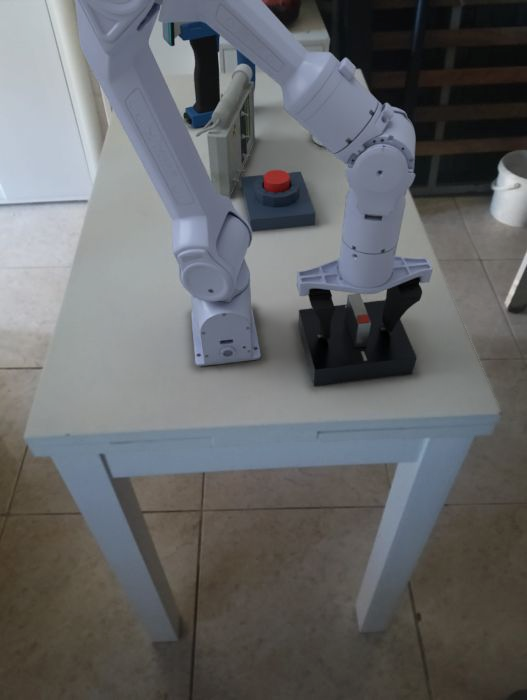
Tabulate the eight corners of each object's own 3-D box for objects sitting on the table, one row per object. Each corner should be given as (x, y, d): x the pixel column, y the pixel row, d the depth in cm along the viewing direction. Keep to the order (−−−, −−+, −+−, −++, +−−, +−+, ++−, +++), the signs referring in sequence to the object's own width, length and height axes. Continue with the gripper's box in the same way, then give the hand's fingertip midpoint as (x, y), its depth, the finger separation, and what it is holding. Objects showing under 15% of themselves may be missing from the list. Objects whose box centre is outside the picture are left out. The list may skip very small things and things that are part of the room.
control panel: (388, 315, 75) (392, 298, 72) (412, 374, 68) (417, 356, 66) (298, 326, 74) (298, 308, 71) (313, 386, 67) (314, 369, 65)
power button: (291, 192, 88) (291, 182, 86) (265, 195, 87) (265, 184, 86) (287, 178, 90) (287, 168, 89) (262, 180, 90) (262, 170, 89)
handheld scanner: (173, 121, 111) (158, 10, 96) (248, 104, 116) (245, -5, 101) (180, 131, 109) (167, 19, 94) (257, 114, 113) (256, 3, 98)
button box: (314, 225, 88) (316, 203, 85) (250, 231, 87) (249, 209, 84) (300, 183, 96) (301, 161, 93) (241, 188, 95) (240, 167, 92)
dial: (344, 318, 70) (347, 292, 67) (356, 317, 70) (360, 291, 67) (354, 348, 67) (358, 322, 64) (367, 346, 67) (371, 321, 64)
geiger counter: (231, 117, 82) (265, 50, 99) (189, 113, 83) (230, 47, 100) (236, 200, 93) (266, 127, 109) (198, 196, 94) (234, 124, 110)
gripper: (425, 207, 61) (404, 300, 71) (292, 220, 60) (290, 313, 70) (449, 248, 57) (422, 340, 67) (305, 263, 55) (301, 355, 66)
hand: (356, 329), depth 68 cm, fingers open, 7 cm apart
